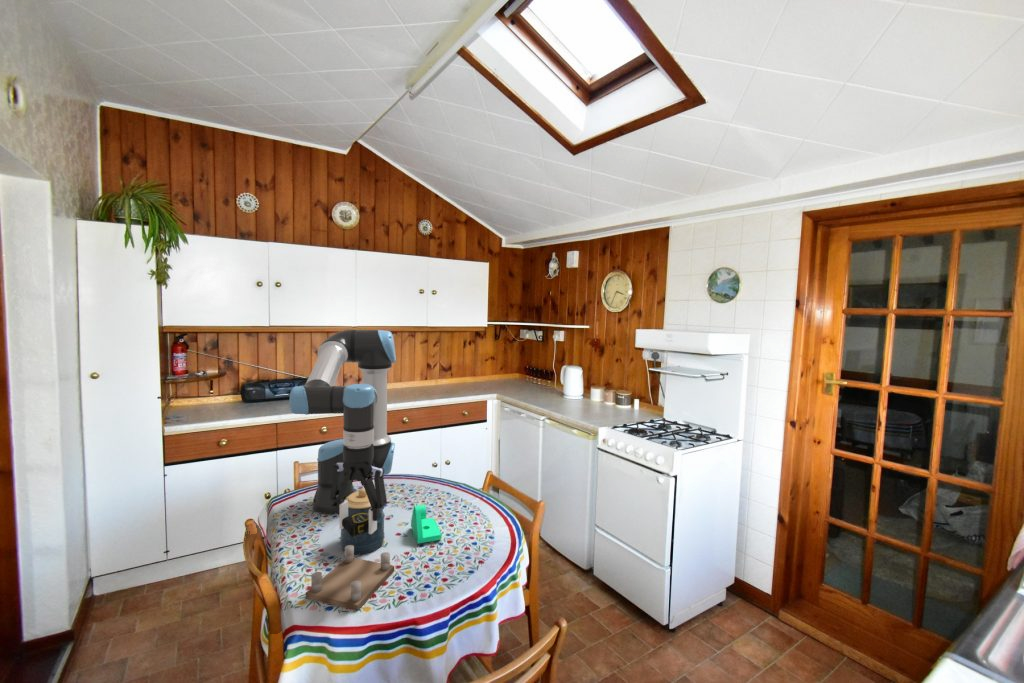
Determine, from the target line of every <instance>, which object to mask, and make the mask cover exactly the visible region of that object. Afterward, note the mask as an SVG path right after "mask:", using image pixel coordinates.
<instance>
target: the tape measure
mask: <svg viewBox="0 0 1024 683" xmlns="http://www.w3.org/2000/svg"><path fill="white" fill-rule="evenodd" d="M342 526H343V527H344V528H345V529H346V530H347V531H348V533H349V534H350V535H351V536H352V537H354V536H356V535H357V534H363V533H366V532H367V531H369V514H368V513H364V512H360V513H355V514H352V515H350V516H348V517H346V518H344V519H343V520H342Z"/></svg>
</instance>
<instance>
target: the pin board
mask: <svg viewBox="0 0 1024 683" xmlns="http://www.w3.org/2000/svg"><path fill="white" fill-rule="evenodd" d="M390 560H391V555H390V552H388V551H384V552H381V554H380V562H377V561H371V560H367V559H363V558H356V557H355V554H354V546H353V545H348V546H346V547H345V552H344V559H343V560H342V561H341V562H340V563H338V564H337V565H336V566H335V567H333V569H331V570H330V571H329V572H328V573H327V574H325V575H324V576H323V574H322V572H320V571H316V572H313V573H312V574H311V576H310V577H311V579H310V580H311V583H310V585H311V587H310V588H309V589H308V590H307V591H306V592H305V599H306V600H311V601H314V602H319V603H323V604H326V603H327V605H331V606H336V607H339V608H344V609H349V610H352V611H356V612H358V611H359V610H360V609H361V608H362V607H363V606H364V605H365V604H366V602H368V601H369V599H370V598H371V597H372V596H373V595H374V594H375V593H376V592H377V591H378V590H379V588H381V587H382V585H383V584H384V583H385V582H386V581H387V580H388V579H389V578H390V577H391V575H392V574H393V573H394V572H395V565H391V561H390Z"/></svg>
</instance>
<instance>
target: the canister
mask: <svg viewBox="0 0 1024 683" xmlns="http://www.w3.org/2000/svg"><path fill="white" fill-rule="evenodd" d="M346 498H347V499H345V500H344V501H348V516H350V515H352V514H355V513H360V512H364V513H368V514H369V509H370V508H371V505H370V502H369V499H368V497H367V494H366V491H365V488H364V487H362V488H360V489H359V490H358V491H355V492H354V493H352V494H350V495H349V496H348V497H346ZM385 506H386V505H384V506H383V507H382V508H380V517H379V519H378V520H377V530H376V531H374V532H373V533H372V534H369V531H367V532H366V533H363V534H357V535H356V536H354V537H352V536H351V535H350V534H349V533H348V531H347V530H346V529H345V528H343V529H340V539H339V544H340V548H341V551H343V552H344V553H345V547H346V546H348V545H353V546H354V555H364V554H365V555H366V554H369V553H372V552H375V551H377V550H378V549H380V548H381V547H382V546H383V544H384V542H385V541H384V540H385V516H386V515H385V512H384V509H385Z"/></svg>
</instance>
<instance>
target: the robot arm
mask: <svg viewBox="0 0 1024 683" xmlns="http://www.w3.org/2000/svg"><path fill="white" fill-rule="evenodd" d="M396 360H397V356H396V346H395V341H394V336H393V333H392V332H391V331H389V330H382V329H344V330H340V331H338V332H335V333H333V334H331V335H329V336H328V337H327V338H325V339H324V340H323V342H321V344H320V345H319V347H318V349H317V359H316V361H315V364H314V365H313V368H312V370H311V372H310V374H309V376H308V378H307V380H306V383H305V384H304V385H300V386H293V387H292V388H291V390H290V393H289V401H288V402H289V409H290V412H291V413H292V414H294V415H305V416H306V415H308V416H309V415H327V414H328V415H329V414H330V415H331V414H333V415H335V414H340V415H341V414H343V416H342V418H343V421H342V422H343V426H342V427H343V432H342V433H343V437H342V438H340V439H335V440H331V441H328V442H325V443H323V444H322V445H321V446H320V447H319V448H318V451H317V459H316V460H317V488H316V491H315V493H314V496H313V498H312V510H313V511H314V512H317V513H319V514H327V515H329V514H337V515H338V516H339V520H338V521H339V524H338V525H339V529H340V530H341V529H343V528H344V527H343V526H342V520H343V519H344V518H346V517H348V501H344V500H345V499H347V498H346V497H348V496H349V495H350V494H352V493H354V492H356V490H355V487H354V484H353V482H354V481H357V482H360V484H361V486H363V488H365V491H366V494H367V497H368V499H369V502H370V505H371V508H370V509H369V534H372V533H373V532H374V531H376V530H377V520H378V519H379V517H380V508H382V507H383V506H384V505H385V506H386V505H387V504H388V500H387V494H386V487H385V480H384V479H385V478H384V476H385V475H389V474H390V473H391V471H392V467H393V459H394V454H395V446H396V444H395V442H392V438H391V436H389V435H388V372H389V371H390V369H392V366H393V365H392V364H394V363H396ZM345 363H357V365H358V366H357V368H358V370H360V371H361V373H362V383H355V384H354V383H353V384H350V385H339V386H338V385H337V386H336V382H337V379H338V376H339V373H340V371H341V368H342V366H343V365H345ZM373 477H374V478H373ZM373 480H374V481H373Z"/></svg>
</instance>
